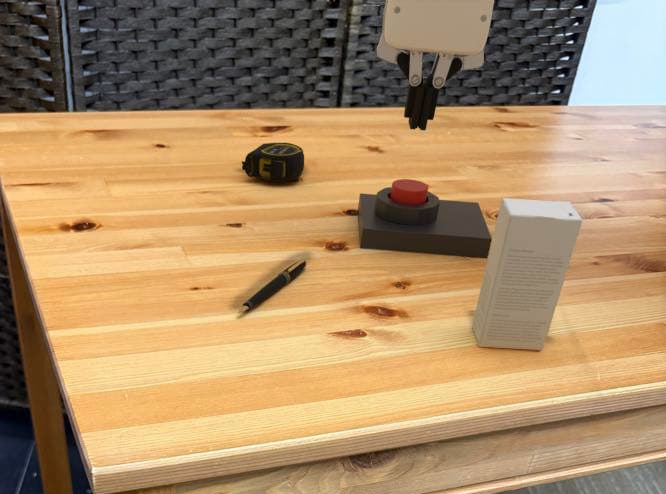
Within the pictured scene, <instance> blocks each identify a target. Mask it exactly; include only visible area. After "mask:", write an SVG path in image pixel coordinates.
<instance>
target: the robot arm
mask: <svg viewBox="0 0 666 494" xmlns="http://www.w3.org/2000/svg"><path fill="white" fill-rule="evenodd" d="M494 4H495V0H385V3H384V9H383V16H382V26H381V31H382V33H381V35H380V38H379V42H378V44H377V47H376V49H375V50H376V55H377V58H379V59H381V60H384V61H386V62H388V63H391V64H393V65H397V66H398V67H399V68H400V70H401V71H402V73H403V75H404V77H405V78H406V79H407V81H408V87H407V92H406V93H407V94H406V100H405V106H404V111H403V117H404V118H405V119H408V125H409V129H410V130H416V129H419V130H420V131H426V130H427V125H428V121H434V118H435V114H436V109H437V103H438V99H439V93H440V89H441V88H442V87H444V85H445V83H446V82H448V81H449V80H450V79H451V78H453V77H454V76H455V75H456V74H457V73H459V72H460V71H467V70H472V69H473V70H474V69H478V68H481V67H482V66H483V65H484V62H485V45H486V44H487V39H488V37H489V32H490V27H491V22H492V17H493V11H494ZM423 52H424V53H434V54H436V56H435V58H434V62H433V64H432V67H431V72H430V73H429V74H428V75H427V78H426V80H425V82H424V77H423V75H422V72H423V54H424V53H423Z"/></svg>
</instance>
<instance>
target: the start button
mask: <svg viewBox="0 0 666 494" xmlns="http://www.w3.org/2000/svg"><path fill="white" fill-rule="evenodd" d="M391 187H392V188H391V194H390V199H391V200H393V201H394V202H398V203H401V204H408V205H421V204H425V203H426V198H427V193H428V192H429V191H428V190H429V186H428V184H426V182H423V181H420V180H416V179H410V178H401V179H396V180H394V181H393V182H392V183H391Z"/></svg>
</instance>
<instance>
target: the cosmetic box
mask: <svg viewBox="0 0 666 494" xmlns="http://www.w3.org/2000/svg"><path fill="white" fill-rule="evenodd" d="M582 224H583V219H582V217H581V216H580V214H579V213H578V211H577V210H576V208H575V207H574V205H573V204H572V203H571V202H570V201H558V200H541V199H527V198H526V199H524V198H509V197H502V198H501V200H500V205H499V209H498V213H497V218H496V222H495V226H494V230H493V235H492V241H491V245H490V249H489V253H488V257H487V261H486V265H485V268H484V274H483V278H482V282H481V286H480V290H479V295H478V299H477V303H476V307H475V312H474V315H473V320H472V327H471V328H472V330H473V333H474V336H475V339H476V342H477V345H478V347H480V348H496V349H497V348H498V349H513V350H528V351H529V350H532V351H543V350H544V348H545V344H546V341H547V337H548V334H549V331H550V328H551V325H552V321H553V318H554V314H555V311H556V308H557V305H558V302H559V298H560V296H561V292H562V290H563V287H564V286H563V285H564V282H565V278H566V275H567V272H568V270H569V266H570V263H571V259H572V256H573V252H574V250H575V246H576V243H577V240H578V236H579V233H580V230H581V227H582Z"/></svg>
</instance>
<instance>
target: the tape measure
mask: <svg viewBox="0 0 666 494" xmlns="http://www.w3.org/2000/svg"><path fill="white" fill-rule="evenodd" d="M241 164H242V166H241V169H242V170H243V171H244V172H245V174H246V176H247V177H248V178H260V179H262V180H265V181H269V182H279V183H280V182H285V183H287V182H289V181H290V182H291V181H294V180H296V179H299V178H300V177H301V176H302V174H303V172H304V169H305V153H304V149H303V148H302V147H301V146H299V145H297V144H293V143H290V142H267V143H262V144H261V145H259V146H258V147H257V148H254V149H253V150H251V151H250V152H248V153H247V154H246V156H245V159H244V161H243V160H242V161H241Z"/></svg>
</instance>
